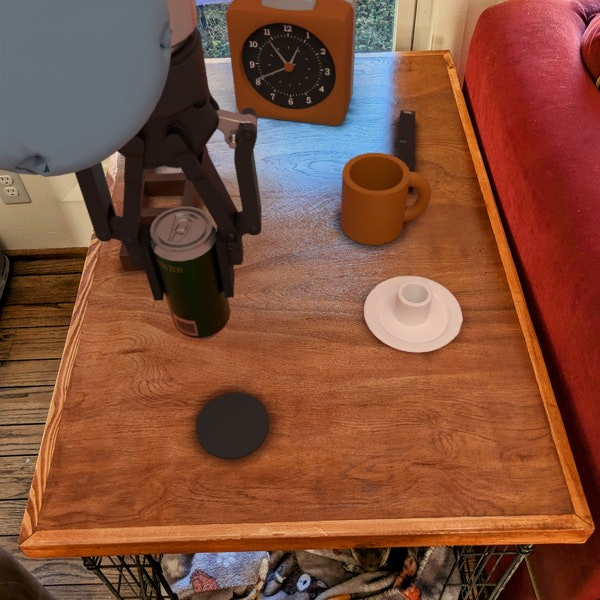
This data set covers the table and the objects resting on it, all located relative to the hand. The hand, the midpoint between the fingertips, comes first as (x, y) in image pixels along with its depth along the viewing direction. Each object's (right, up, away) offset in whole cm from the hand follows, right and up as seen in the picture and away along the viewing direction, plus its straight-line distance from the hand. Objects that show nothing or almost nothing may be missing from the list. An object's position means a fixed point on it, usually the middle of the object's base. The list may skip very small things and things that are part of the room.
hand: (195, 286), depth 55 cm
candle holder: (+23, -3, +23) cm, 33 cm away
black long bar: (+26, +21, +43) cm, 54 cm away
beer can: (0, -3, +4) cm, 5 cm away
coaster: (+2, -15, +14) cm, 21 cm away
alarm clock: (+8, +32, +52) cm, 61 cm away
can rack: (-10, +12, +36) cm, 40 cm away
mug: (+21, +9, +33) cm, 41 cm away
